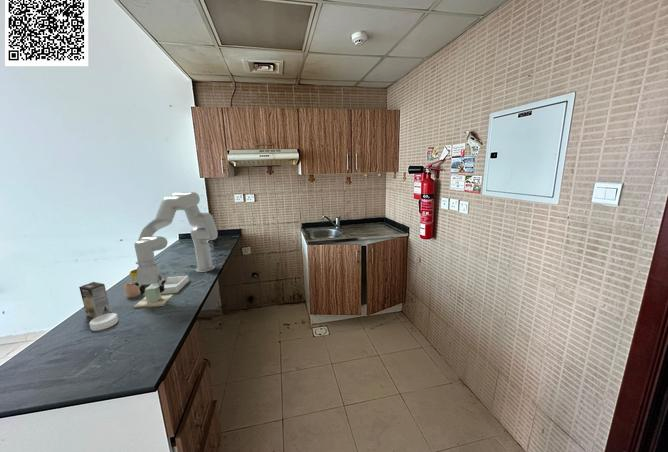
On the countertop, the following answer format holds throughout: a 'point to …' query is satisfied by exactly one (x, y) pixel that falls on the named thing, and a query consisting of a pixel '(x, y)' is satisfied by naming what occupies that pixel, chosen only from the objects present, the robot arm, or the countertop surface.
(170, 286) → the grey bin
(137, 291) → the terracotta cup
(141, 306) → the pad
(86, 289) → the coffee box
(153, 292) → the sage block
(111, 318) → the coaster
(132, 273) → the plant pot
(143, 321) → the countertop surface
